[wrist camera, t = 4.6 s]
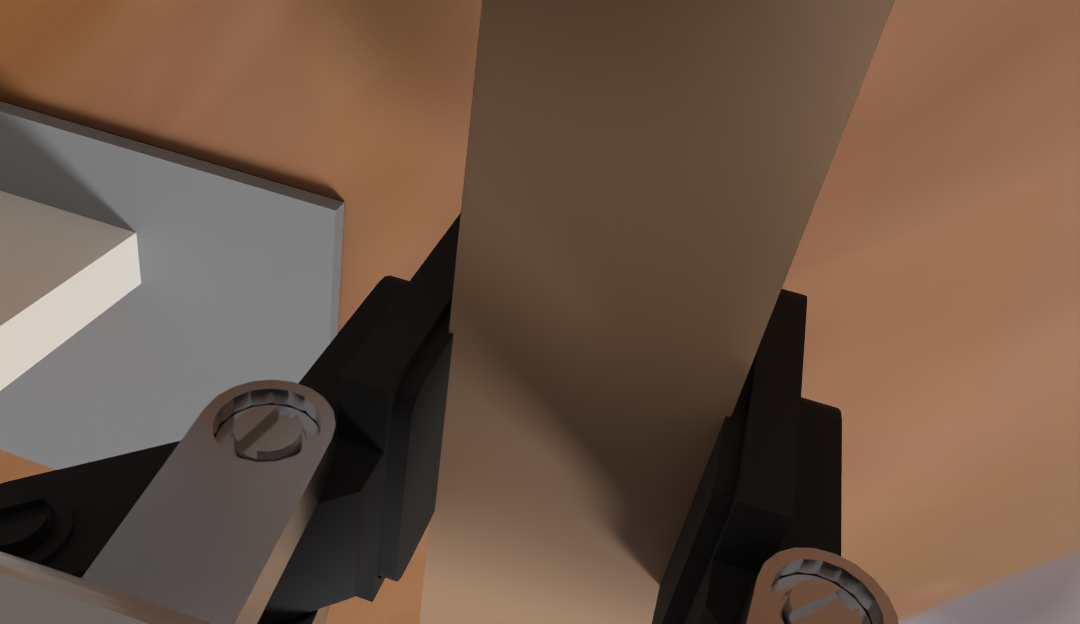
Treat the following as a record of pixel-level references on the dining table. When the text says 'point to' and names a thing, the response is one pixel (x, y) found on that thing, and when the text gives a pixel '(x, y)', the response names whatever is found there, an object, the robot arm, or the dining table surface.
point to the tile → (55, 278)
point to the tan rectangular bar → (619, 280)
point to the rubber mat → (167, 290)
